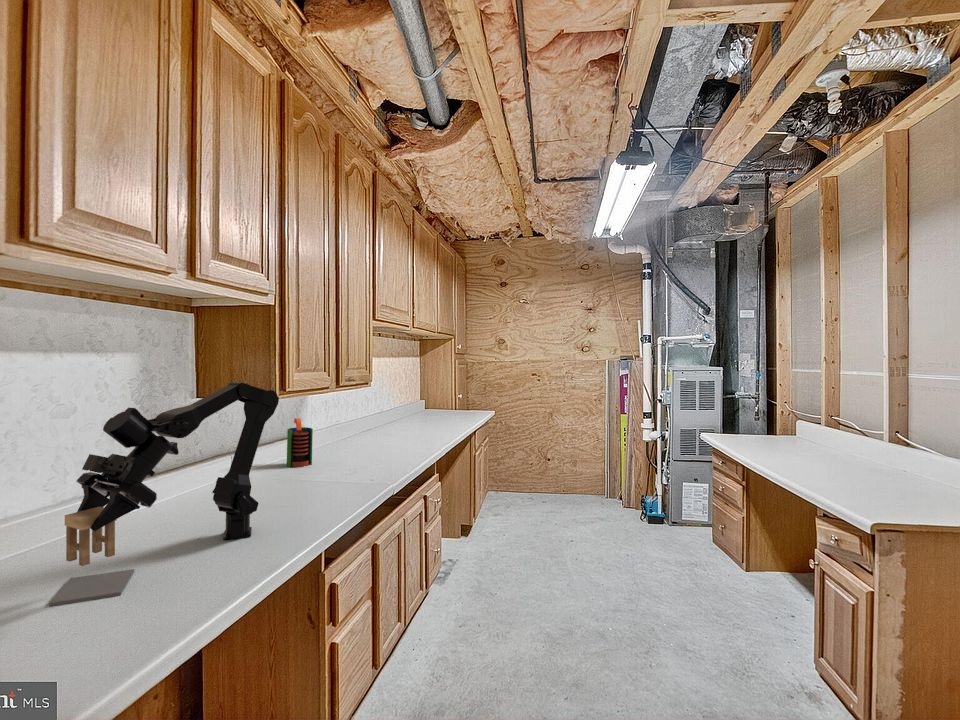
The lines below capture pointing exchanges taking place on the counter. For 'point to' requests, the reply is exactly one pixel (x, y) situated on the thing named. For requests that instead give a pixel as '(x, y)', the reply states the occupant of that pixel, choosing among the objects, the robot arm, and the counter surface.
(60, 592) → the mat
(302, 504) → the counter surface
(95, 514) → the stool
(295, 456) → the motor
